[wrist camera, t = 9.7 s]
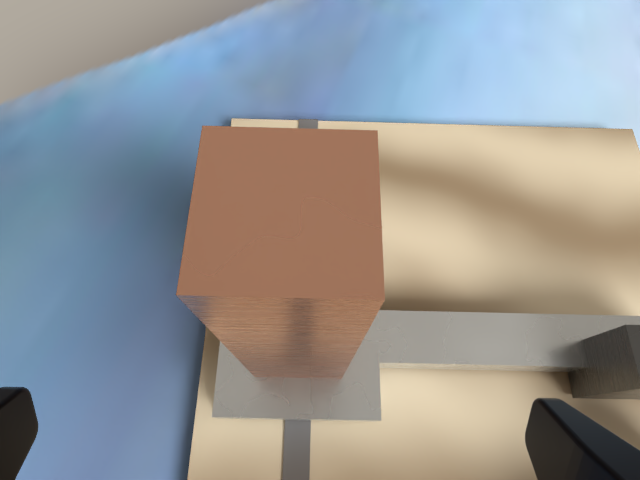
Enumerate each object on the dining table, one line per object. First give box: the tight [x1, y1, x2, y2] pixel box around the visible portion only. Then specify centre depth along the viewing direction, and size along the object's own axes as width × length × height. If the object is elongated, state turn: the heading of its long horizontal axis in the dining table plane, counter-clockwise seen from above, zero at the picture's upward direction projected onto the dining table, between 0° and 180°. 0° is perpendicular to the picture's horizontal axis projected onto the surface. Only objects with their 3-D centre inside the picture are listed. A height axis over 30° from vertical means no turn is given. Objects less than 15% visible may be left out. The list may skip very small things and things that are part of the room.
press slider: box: [176, 126, 640, 422], centre depth 13 cm, size 6×18×12 cm, turn 89°
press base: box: [187, 119, 640, 480], centre depth 17 cm, size 23×21×6 cm
